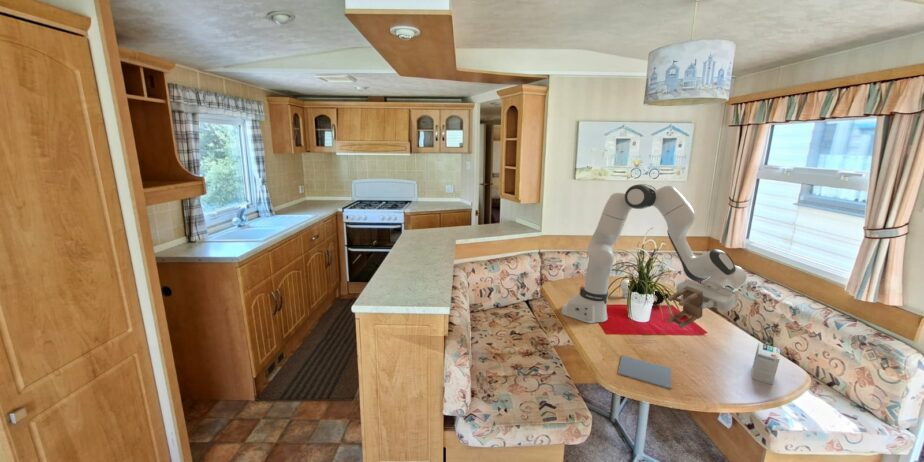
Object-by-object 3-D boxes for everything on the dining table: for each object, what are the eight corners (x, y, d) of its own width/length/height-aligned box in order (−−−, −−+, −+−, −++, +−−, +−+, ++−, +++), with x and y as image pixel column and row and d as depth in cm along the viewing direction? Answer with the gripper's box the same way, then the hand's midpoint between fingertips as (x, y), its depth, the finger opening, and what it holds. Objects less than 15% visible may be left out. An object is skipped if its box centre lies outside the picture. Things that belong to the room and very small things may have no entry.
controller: (648, 299, 213) (651, 282, 211) (668, 307, 202) (671, 290, 200) (643, 300, 211) (645, 283, 209) (663, 309, 201) (666, 291, 198)
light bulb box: (752, 365, 151) (758, 341, 149) (773, 372, 147) (780, 348, 144) (750, 378, 143) (757, 352, 141) (773, 385, 139) (780, 359, 136)
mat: (617, 373, 143) (617, 372, 143) (621, 356, 155) (621, 355, 155) (670, 389, 135) (671, 388, 135) (670, 369, 147) (670, 368, 147)
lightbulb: (618, 298, 212) (621, 280, 210) (618, 294, 218) (620, 277, 215) (630, 300, 210) (633, 282, 208) (630, 296, 216) (632, 278, 213)
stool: (687, 310, 148) (687, 285, 145) (702, 316, 143) (702, 291, 139) (667, 321, 144) (667, 297, 140) (682, 328, 139) (682, 303, 135)
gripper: (689, 273, 156) (666, 286, 151) (742, 291, 138) (719, 306, 133) (688, 286, 158) (666, 299, 153) (741, 306, 141) (718, 321, 136)
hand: (691, 302), depth 143 cm, fingers closed on stool, 6 cm apart
